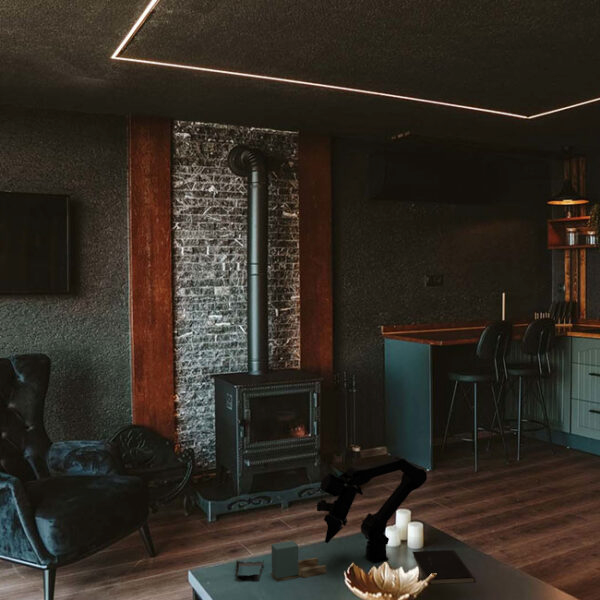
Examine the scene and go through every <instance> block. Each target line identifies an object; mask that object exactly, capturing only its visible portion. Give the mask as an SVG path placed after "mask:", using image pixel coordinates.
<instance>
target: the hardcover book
mask: <svg viewBox="0 0 600 600" xmlns="http://www.w3.org/2000/svg"><path fill="white" fill-rule="evenodd" d="M412 554H413V558H414V560H415V561H416V563H417V565H418V567H419V568H420V571H421V572H422V575H423V576H424V578H425V579H426V578H427V577H428V576H429V575H430V574H431V573H437V575H436V577H435V578H434V579H433V580H432V581H431V584H430V585H432V584H433V585H434V584H436V585H437V584H458V583H462V584H463V583H476V578H475V576H474V575H473V573H472V572H471V571H470V570H469V568H468V567H467V565H466V564H465V563H464V561H463V560H462V559H461V558H460V555H458V553H457V552H456V550H455V549H450V550H449V549H447V550H444V549H443V550H425V551H422V550H421V551H412Z"/></svg>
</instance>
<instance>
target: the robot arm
mask: <svg viewBox="0 0 600 600" xmlns="http://www.w3.org/2000/svg"><path fill="white" fill-rule="evenodd" d="M397 471H400V472H402V473H403V474H402V475H401V479H400V482H399V484H398V486H396V488H395V490H394V491H392V493H391V495H390V496H389V497H388V498H387V500H386V501H385V502H384V503H383V504H382V506H381V507H380V508H379V509H378V510H377V512H376V513H374V514H371V512H369V513H367V515H366V517H365V518H364V519H362V520H361V522H362V523H361V524H360V532H361V534H362V535H363V536H364V538H365V539H366V540H367V541H366V546H365V554H364V557H365V558H366V557H367V558H366V559H368V560H369V561H370V562H371V563H374V564H375V563H380V562H384V561H389V557H387V546H388V544H389V541H390V538H389V537H387V535H386V534H385V532H386V529H387V524H388V521H390V519H391V518H392V516H393V515H394V514H395V513H396V511H397V510H398V509H399V508H400V506H401V505H402V504H403V503H404V501H405V500H406V499H407V497H409V495H410V494H411V493H412V492H413V491H415V490H417V489H419V488H420V487H421V486H423V485H424V484H425V483H426V482H427V479H428V477H427V471H426V470H425V469H423V468H421V467H418V466H416V465H413V464H411V463H410V462H408V461H407V459H405V458H402V457H400V456H395V457H394V458H390V459H387V460H384V461H380V462H377V463H372V464H370V465H352V466H349V467H347V469H346V471H344V472H343V473H341V474H339V475H337V476H336V475H334V474H333V473H331V472H329V473H328V474H327V475H326V476H324V477H323V479H322V480H321V482H320V491H322V492H324V493H327V494H328V495H330V496H332V497H336V499H335V500H334V501H333V502H328V501H327V499H320V501H317V504H316V512H328V513H327V514H326V515H325V516H324V518H323V521H324V522H325V524H326V526H327V530H326V534H325V538H324V542H325V543H326V544H328V543H329V542H330V541H331V540H332V539H333V538H335V536H337V534H338V533H339V532H340V531H341V530H343V528H344V527H345V526H346V525H347V523H348V518H347V517H348V515H349V512H350V511H351V509H352V506H353V503H354V501H355V499H356V496H357V494H358V495H361V496H362V495H363V494H364V493H363V490H362V488H361V486H363V485H365V484H367V483H369V482H370V481H371V480H372V479H374V478H377V477H380V476H383V475H388V474H390V473H393V472H397ZM343 526H344V527H343Z"/></svg>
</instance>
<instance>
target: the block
mask: <svg viewBox="0 0 600 600" xmlns="http://www.w3.org/2000/svg"><path fill="white" fill-rule="evenodd" d="M298 561H299V545H298V544H297V543H296V542H295V540H290V541H283V542H278V543H271V573H272V574H273V575H274V576H275V577H276V579H279V578H284V577H289V576H295V575H299V563H298Z"/></svg>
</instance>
